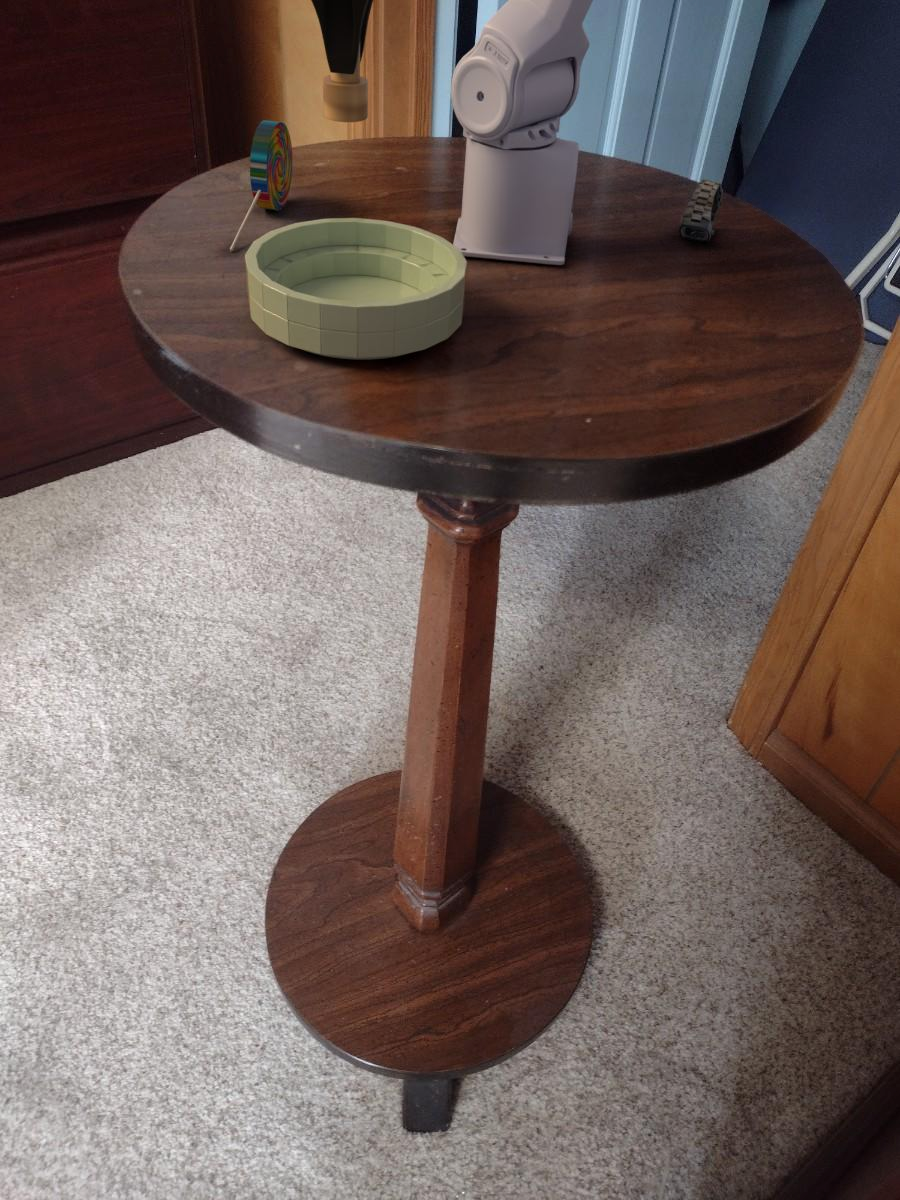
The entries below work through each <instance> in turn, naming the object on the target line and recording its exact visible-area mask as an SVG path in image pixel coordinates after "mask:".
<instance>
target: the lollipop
mask: <svg viewBox="0 0 900 1200" xmlns="http://www.w3.org/2000/svg"><path fill="white" fill-rule="evenodd" d="M292 146H293V145H292V138H291V135H290V131H289V129H288V127H287V125H286V124H285V123H284V122H282V121H276V120H275V121H274V120H266V119H264V120H262V121H260V123H259V124H258V125H257V127H256V129H255V132H254V134H253V138H252V143H251V149H250V156H249V180H250V187H251V192H252V198H253V201H252V203H251V205H250V207H249V209H248V211H247V213H246V215H245V217H244V219H243V221H242V223H241V225H240V227H239V229H238V231H237V233H236V235H235V237H234V240H233V241H232V244H231V245H230V248H229V252H233V251H234V249H235V247H236V245H237V243H238V241H239V239H240V237H241V235H242V232H243V230H244V228H245V226H246V225H247V222H248V220H249V218H250V216H251V214H252V211H253V210H254V208H255V205H256V206H257V207H259V209H263V210H271V211H281V210H282V209H283V208H284V206H285V205H286V202H287V200H288V197H289V194H290V191H291V185H292V177H293V164H294V163H293V159H294V158H293V147H292Z"/></svg>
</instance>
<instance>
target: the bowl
mask: <svg viewBox="0 0 900 1200" xmlns="http://www.w3.org/2000/svg"><path fill="white" fill-rule="evenodd" d="M244 264H245V265H244V266H245V278H246V279H245V280H246V291H247V292H246V293H247V303H248V309H249V315H250V319H251V321H252V322H254V324H255V325H256V326H257V327H258V328H259V329H260V330H261V331H262V332H263V333H264V334H265V335H266V336H268V337H270V338H272V339H274V340H276V341H278V342H280V343H282V344H284V345H286V346H288V347H291V348H296V349H300V350H301V351H305V352H307V353H311V354H315V355H317V356H318V355H319V356H323V357H327V358H334V359H342V360H356V361H357V360H360V361H362V360H363V361H364V360H366V361H367V360H381V359H382V360H383V359H390V358H396V357H401V356H405V355H408V354H412V353H415V352H420V351H424V350H427V349H429V348H432V347H433V346H436V345H437V344H439V343H441V342H443V341H446V340H448V339H449V338H451V336H452V335H453V334H454V333H455V332H456V331H457V330H458V329H459V328H460V327H461V326H462V322H463V318H464V317H463V316H464V312H465V298H466V286H467V275H468V274H467V272H468V261H467V259H466V258H465V256H463V254H462V253H461V251H460V249H458V248H457V247H456V246H454V245H453V243H451V242H450V241H449V240H447V239H446V238H444V237H442V236H441V235H438V234H435V233H433V232H430V231H427V230H425V229H422V228H420V227H417V226H412V225H409V224H403V223H400V222H394V221H390V220H381V219H373V218H372V219H371V218H360V217H336V218H335V217H334V218H333V217H332V218H319V219H313V220H307V221H300V222H294V223H291V224H288V225H284V226H282V227H279V228H276V229H273V230H269V231H268V232H266V233H265V234H263V235H262V236H260V237H258V238H257V239H255V240H253V241H252V243H251V244H250V246H249V248H248V249H247V251H246V252H245V254H244Z"/></svg>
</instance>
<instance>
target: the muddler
mask: <svg viewBox="0 0 900 1200" xmlns="http://www.w3.org/2000/svg"><path fill="white" fill-rule="evenodd" d="M322 99H323V100H322V105H323V107H322V108H323V117H324V118H325V119H328V120H330V121H333V122H339V123H358V122H363V121H365V120H367V119H368V117H369V81H368V79H367V78H366V77H364V76H361V63H360V45H359V53H358V60H357V65H356V69H355V72H354V74H342V73H331V72H330V74H329V75H325V76H323V78H322Z"/></svg>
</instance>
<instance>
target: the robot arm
mask: <svg viewBox="0 0 900 1200" xmlns="http://www.w3.org/2000/svg"><path fill="white" fill-rule="evenodd" d="M310 1H311V3H312V7H313V8H314V11H315V13H316V16H317V19H318V22H319V28H320V31H321V36H322V41H323V47H324V52H325V56H326V62H327V65H328V68H329V72H330V74H331V73H342V74H354V72H355V69H356V65H357V60H358V53H359V45H360V64H361V62H362V59H363V54H364V49H365V45H366V44H365V43H366V37H367V31H368V26H369V25H368V24H369V20H370V14H371V10H372V7H373V3H374V0H310ZM593 1H594V0H507V1H506V2H505V3H504V4H503V5H502V6H501V7H500V8H499V9H498V10H497V11H496V12H495V13H494V14H493V15H492V16H491V18H490V19H488V21H487V22H486V23H484V25H483V27H482V30H481V31H480V35H479V36H478V39H477V41H476V42H475V44H474V46H473V47H472V48H471V49H470V50H469V51H468V52H467V53H465V54H464V55H463V56H462V57H461V59H459V61H458V63H457V64H456V66H455V68H454V71H453V73H452V77H451V83H450V97H451V104H452V108H453V111H454V114H455V117H456V119H457V121H458V122H459V124H460V126H462V128H463V132H462V137H464V138H465V139H466V144H465V145H466V146H465V159H464V173H463V187H462V200H461V212H460V213H461V216H460V217H458V219H457V224H456V230H455V233H454V238H453V243H452V244H453V245H454V246H456V247H457V248H458V249H460V251H461V253H462V254H463V256H464V257H466V258H467V257H469V258H478V259H487V260H488V259H489V260H497V261H499V260H500V261H510V262H519V263H521V262H522V263H531V264H539V265H540V264H542V265H551V266H563V265H565V261H566V257H565V256H566V250H567V243H568V238H569V237H568V236H570V235H571V233H572V226H573V218H574V214H573V213H574V212H572V211H573V209H572V208H573V203H574V195H575V189H576V179H577V171H578V161H579V152H580V151H579V150H580V149H579V148H580V147H579V146H580V145H579V142H578V141H574V140H568V139H564V138H563V139H562V138H560V137H557V133H559V131H560V126H561V118H562V117H563V116H565V115H566V114H567V113H568V112H569V111H570V110H571V108H572V107H573V106H574V104H575V101H576V99H577V97H578V93H579V89H580V81H581V68H582V64H583V61H584V59H585V56H586V54H587V52H588V50H589V48H590V40H589V37H588V35H587V33H586V30H585V28H584V26H583V23H584V21H585V19H586V16H587V15H588V12H589V10H590V8H591V6H592V4H593Z"/></svg>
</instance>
